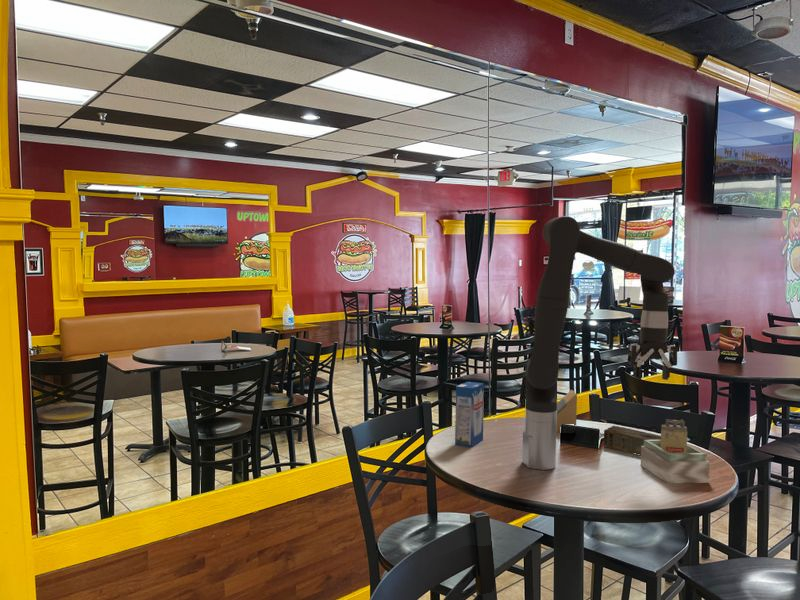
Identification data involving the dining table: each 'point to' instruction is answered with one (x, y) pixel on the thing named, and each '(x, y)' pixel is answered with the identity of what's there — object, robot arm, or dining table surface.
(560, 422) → the sandwich container
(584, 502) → the dining table surface
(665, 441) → the lighter
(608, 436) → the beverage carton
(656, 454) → the stand
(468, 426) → the milk carton
